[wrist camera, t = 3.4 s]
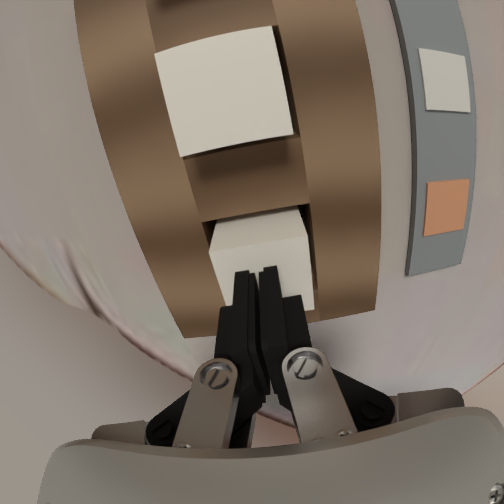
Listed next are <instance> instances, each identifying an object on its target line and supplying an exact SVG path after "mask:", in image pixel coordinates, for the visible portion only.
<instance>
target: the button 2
mask: <svg viewBox="0 0 504 504" xmlns="http://www.w3.org/2000/svg"><path fill="white" fill-rule="evenodd" d="M209 255H210V258H211V261H212V264H213V267H214V271H215V274H216V277H217V280H218V283H219V286H220V289H221V292H222V295H223V297H224V300H225V303H226V306H230V305H232V301H233V288H234V276H235V272H238V271H244V270H249V272H250V273H255V276H256V280H257V284H258V288H259V272H261V271H263V267H269V266H275V265H277V269H278V274H279V280H280V285H281V291H282V297H289V296H295V295H301V296H302V301H303V306H304V310H305V311H308V310H314V297H313V285H312V273H311V263H310V253H309V243H308V235H307V232H306V230H305V227H304V224H303V221H302V218H301V215H300V213H299V210H298V207H297V205H294V206H288V207H282V208H276V209H271V210H265V211H259V212H253V213H248V214H242V215H237V216H231V217H226V218H221V219H217V222H216V226H215V230H214V233H213V237H212V241H211V245H210V249H209Z"/></svg>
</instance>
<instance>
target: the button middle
mask: <svg viewBox="0 0 504 504" xmlns="http://www.w3.org/2000/svg"><path fill="white" fill-rule="evenodd" d="M154 56H155V60H156V64H157V69H158V73H159V77H160V81H161V85H162V90H163V94H164V98H165V102H166V106H167V110H168V114H169V117H170V121H171V125H172V129H173V133H174V136H175V140H176V144H177V148H178V151H179V155H180V157H183V156H187V155H191V154H195V153H199V152H203V151H207V150H212V149H216V148H220V147H225V146H230V145H235V144H239V143H245V142H250V141H255V140H261V139H266V138H272V137H278V136H285V135H291V134H293V128H292V123H291V117H290V112H289V106H288V101H287V96H286V90H285V85H284V80H283V75H282V71H281V66H280V61H279V57H278V52H277V48H276V43H275V39H274V35H273V30H272V26H266V27H259V28H252V29H246V30H241V31H235V32H230V33H226V34H221V35H217V36H212V37H208V38H204V39H200V40H197V41H193V42H189V43H186V44H183V45H179V46H176V47H173V48H170V49H167V50H164V51H161V52H158V53H155V54H154Z"/></svg>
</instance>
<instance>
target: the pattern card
mask: <svg viewBox="0 0 504 504" xmlns="http://www.w3.org/2000/svg"><path fill="white" fill-rule="evenodd" d="M390 3H391V7H392V11H393V14H394V18H395V22H396V27H397V31H398V35H399V40H400V45H401V50H402V55H403V61H404V67H405V74H406V81H407V88H408V97H409V107H410V119H411V135H412V205H411V221H410V234H409V244H408V253H407V261H406V269H405V272H406V273H407V275H408V276H412V275H416V274H421V273H425V272H429V271H433V270H438V269H442V268H446V267H450V266H454V265H457V264H461V261H462V257H463V252H464V248H465V243H466V238H467V232H468V227H469V221H470V214H471V207H472V199H473V190H474V180H475V165H476V106H475V92H474V82H473V74H472V66H471V60H470V54H469V48H468V43H467V38H466V33H465V29H464V25H463V21H462V17H461V13H460V9H459V6H458V3H457V0H390Z"/></svg>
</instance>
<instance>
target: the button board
mask: <svg viewBox="0 0 504 504" xmlns="http://www.w3.org/2000/svg"><path fill="white" fill-rule="evenodd" d="M74 8H75V17H76V24H77V31H78V38H79V44H80V50H81V55H82V61H83V66H84V71H85V75H86V80H87V85H88V89H89V93H90V97H91V101H92V105H93V109H94V113H95V117H96V121H97V124H98V128H99V131H100V135H101V138H102V142H103V145H104V148H105V151H106V155H107V158H108V161H109V164H110V167H111V170H112V173H113V176H114V179H115V182H116V185H117V188H118V190H119V193H120V196H121V199H122V201H123V204H124V207H125V209H126V212H127V215H128V217H129V220H130V222H131V225H132V227H133V230H134V232H135V235H136V237H137V240H138V242H139V244H140V247H141V249H142V252H143V254H144V256H145V259H146V261H147V263H148V265H149V268H150V270H151V272H152V274H153V276H154V279H155V281H156V283H157V285H158V287H159V289H160V291H161V294H162V296H163V298H164V300H165V302H166V304H167V306H168V308H169V310H170V312H171V314H172V316H173V318H174V320H175V322H176V324H177V326H178V328H179V330H180V331H181V333H182V335H183V337H184V338H194V337H205V336H215V335H217V328H218V319H219V311H220V308H221V307H222V306H226V303H225V300H224V297H223V295H222V292H221V289H220V286H219V283H218V280H217V277H216V274H215V271H214V267H213V264H212V261H211V258H210V255H209V249H210V245H211V241H212V237H213V233H214V230H215V226H216V219H221V218H226V217H231V216H237V215H242V214H248V213H253V212H259V211H265V210H271V209H276V208H282V207H288V206H294V205H301V204H303V210H304V218H305V226H306V232H307V235H308V243H309V253H310V263H311V273H312V285H313V297H314V310H308V311H305V315H306V320H307V323H311V322H316V321H322V320H328V319H333V318H338V317H343V316H348V315H353V314H358V313H363V312H367V311H372V310H375V304H376V295H377V284H378V273H379V259H380V240H381V167H380V148H379V135H378V123H377V114H376V105H375V97H374V90H373V83H372V76H371V70H370V64H369V59H368V54H367V49H366V44H365V39H364V35H363V30H362V26H361V22H360V18H359V14H358V10H357V6H356V3H355V0H74ZM266 26H272V30H273V35H274V39H275V43H276V48H277V52H278V57H279V61H280V66H281V71H282V75H283V80H284V85H285V90H286V96H287V101H288V106H289V112H290V117H291V123H292V128H293V134H291V135H285V136H278V137H272V138H266V139H261V140H255V141H250V142H245V143H239V144H235V145H230V146H225V147H220V148H216V149H212V150H207V151H203V152H199V153H195V154H191V155H187V156H183V157H180V155H179V151H178V148H177V144H176V140H175V136H174V133H173V129H172V125H171V121H170V117H169V114H168V110H167V106H166V102H165V98H164V94H163V90H162V85H161V81H160V77H159V73H158V69H157V64H156V60H155V56H154V54H155V53H158V52H161V51H164V50H167V49H170V48H173V47H176V46H179V45H183V44H186V43H189V42H193V41H197V40H200V39H204V38H208V37H212V36H217V35H221V34H226V33H230V32H235V31H241V30H246V29H252V28H259V27H266Z"/></svg>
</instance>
